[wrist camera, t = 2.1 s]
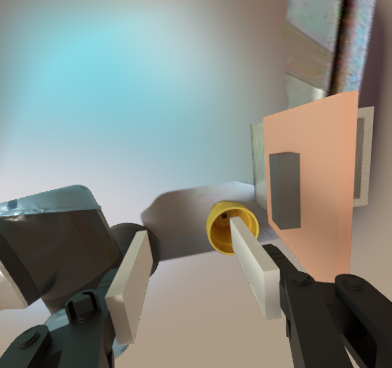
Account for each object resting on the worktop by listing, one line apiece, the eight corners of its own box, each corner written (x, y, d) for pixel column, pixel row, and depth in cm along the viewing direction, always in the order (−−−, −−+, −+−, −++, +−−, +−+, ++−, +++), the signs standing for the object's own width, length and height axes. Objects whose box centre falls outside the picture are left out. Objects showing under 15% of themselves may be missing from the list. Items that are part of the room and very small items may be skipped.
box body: (255, 201, 48) (276, 218, 38) (250, 124, 44) (272, 119, 34) (327, 190, 49) (367, 205, 38) (328, 114, 45) (374, 106, 34)
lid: (274, 222, 37) (255, 224, 38) (270, 116, 33) (248, 119, 33) (348, 305, 19) (309, 308, 19) (358, 90, 15) (308, 97, 15)
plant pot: (251, 221, 49) (268, 241, 40) (214, 240, 50) (221, 264, 40) (233, 185, 47) (246, 197, 38) (194, 206, 48) (198, 222, 38)
